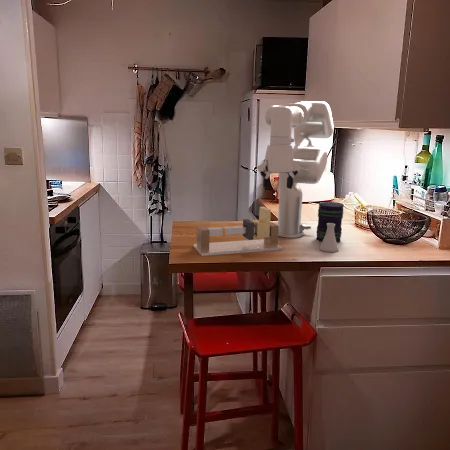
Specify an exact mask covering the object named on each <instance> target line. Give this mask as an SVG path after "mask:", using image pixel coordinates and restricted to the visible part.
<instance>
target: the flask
mask: <svg viewBox="0 0 450 450" xmlns="http://www.w3.org/2000/svg"><path fill="white" fill-rule="evenodd" d="M334 226H335V224H333V223H327V231H326V235H325V237H324V239H323V241H322V242H321V244H320V246H319V250H320V251H323V252H328V253H335V252H339V246H338V243H337V242H336V238H335V234H334Z"/></svg>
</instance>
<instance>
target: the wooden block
mask: <svg viewBox="0 0 450 450" xmlns="http://www.w3.org/2000/svg"><path fill="white" fill-rule="evenodd" d="M271 212H272V209H270V208H268V207H266V206H259V214H258V218H259V219H252V220H251V221H252V222H254V225H256V233H254V237H255V238H256V239H264V238H268V237H269V235H270V222H271V219H272V218H271V217H272V216H271V214H272V213H271Z"/></svg>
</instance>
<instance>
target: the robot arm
mask: <svg viewBox="0 0 450 450" xmlns="http://www.w3.org/2000/svg"><path fill="white" fill-rule="evenodd" d="M332 116H333V115H332V110H331V107H330V105H329V104H328V103H327V102H326V101H316V100H315V101H314V100H313V101H311V100H310V101H308V100H306V101H305V100H304V101H300V102H294V103H293V102H292V103H286V104H277V105H271V106H268V108H267V109H266V111H265V114H264V121H265V123H266V125H267V126H268V127H270V132H269V133H270V136H269V139H270V140H269V144H268V145H266V146H267V147H266V151H265V156H264V162H262V163H261V164H259V165H257V167H256V168H257V171H258V173H259V174H260V176H261V177H262V178H263V188H264V189H265V190H267V191H268V190H270V176H271V175H272V174H278V181H279V192H278V194H279V195H278V212H277V213H278V215H277V225H278V226H279V230H278V237H282V238H289V239H291V238H292V239H296V238H297V239H298V238H301V237H304V234H305V233H304V231H305V230H306V231H307V230H312V229H311V228H312V226H311V225H310V224H305V223H304V224H303V223H301V222H302V207H303V206H302V205H303V191H302V188H301V187H300V185H299V184H305V185H306V184H307V185H315V184H319V182H320V180H321V178H322V176H323V173H324V171H325V169H326V167H327V163H328V152H327V151H326V149H325V148H323V147H318V146H317V147H316V146H314V143H313V142H312V140H311V139H328V138H330V137H331V136H332V135H333V133H334V121H333V120H334V119H333V117H332ZM292 129H293V138H292ZM310 138H311V139H310ZM292 143H294V146H293V145H292Z"/></svg>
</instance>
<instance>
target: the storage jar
mask: <svg viewBox="0 0 450 450" xmlns="http://www.w3.org/2000/svg"><path fill="white" fill-rule="evenodd" d="M344 207H345V206H344V203H341V202H335V201H320V202H319V203H318V208H317V209H318V210H317V218H318V220H317V226H316V239H315V240H316V241H317V242H320V243H322V241H323V239H324V237H325V235H326V231H327V223H333V224H335V226H334V234H335V238H336V242H337V244H339V243H341V237H342V234H343V233H342V232H343V231H342V224H343V223H342V220H343V218H344Z"/></svg>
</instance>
